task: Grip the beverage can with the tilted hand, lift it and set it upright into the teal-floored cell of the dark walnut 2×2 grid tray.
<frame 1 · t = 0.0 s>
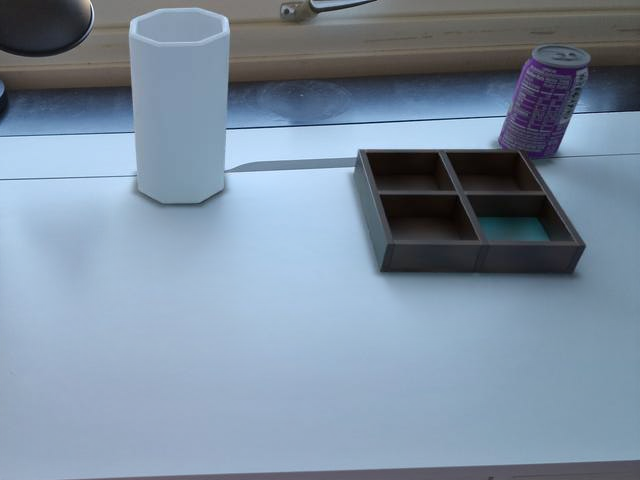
cup: (180, 183, 85), on the table
beverage can: (525, 151, 88), on the table
grid: (452, 219, 78), on the table
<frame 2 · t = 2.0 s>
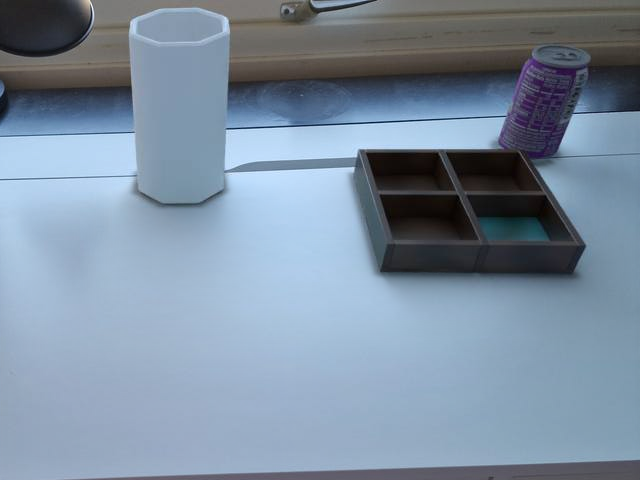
nothing on the table moved.
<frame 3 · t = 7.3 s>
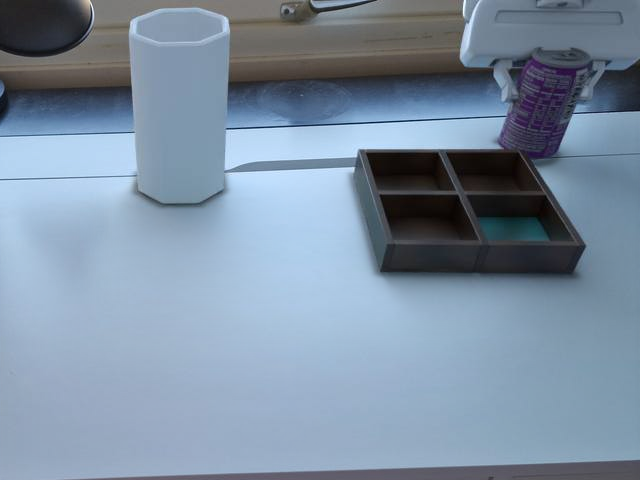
hand: (546, 102, 83), 7 cm above the table, tool tilted 45°, fingers closed on beverage can, 7 cm apart
beverage can: (525, 151, 88), on the table, touching gripper
everything else where it was.
when the fingers open (7 cm above the table, at t = 17.7 s): beverage can stays where it is, resting on grid.
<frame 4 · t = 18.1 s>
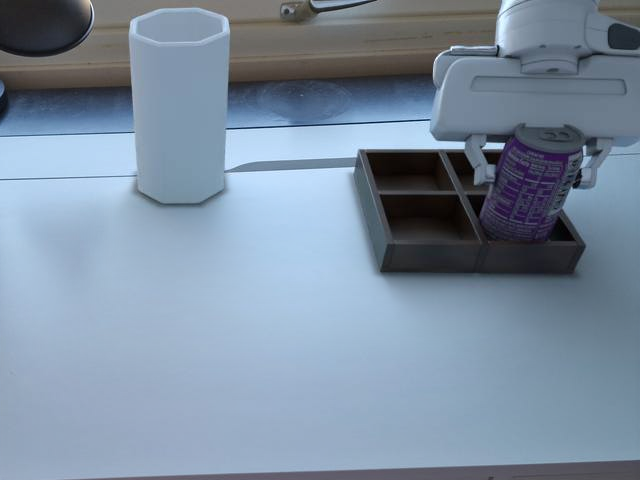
hand: (533, 186, 69), 7 cm above the table, tool tilted 45°, fingers open, 8 cm apart
beverage can: (508, 240, 74), point 1 cm above the table, touching grid
everything else where it was.
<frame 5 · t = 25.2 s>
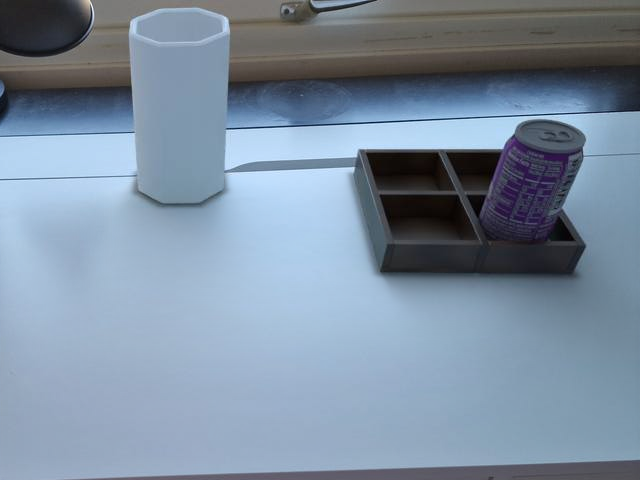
nothing on the table moved.
at the end: beverage can 0.1 cm from the target spot in the grid, point 0.5 cm above the grid's base; beverage can tilted 0° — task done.
